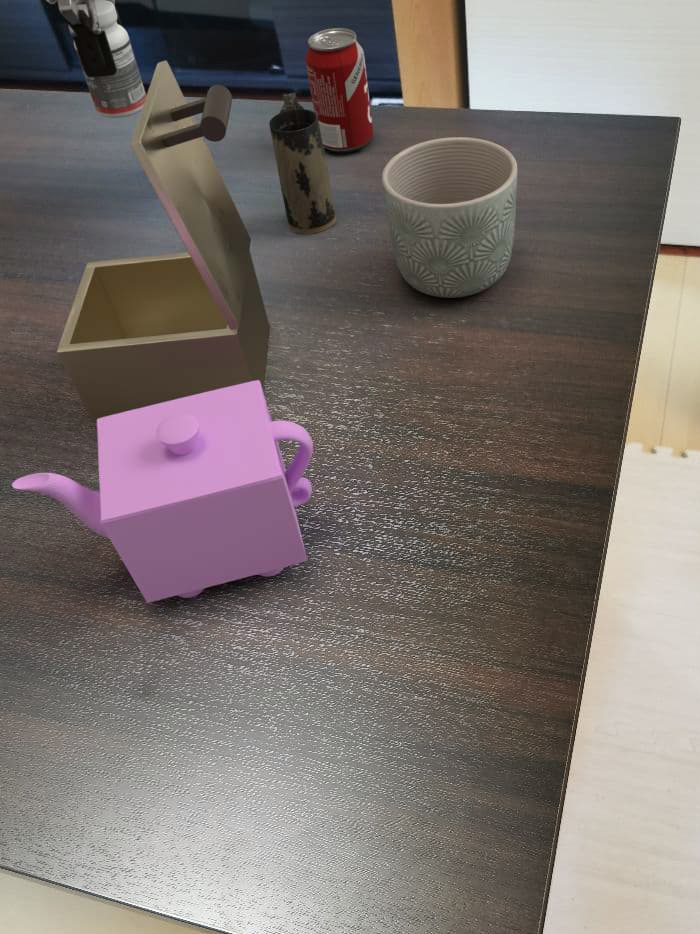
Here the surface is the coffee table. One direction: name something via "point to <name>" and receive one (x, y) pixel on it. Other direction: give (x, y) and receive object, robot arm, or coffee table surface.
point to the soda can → (339, 89)
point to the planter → (451, 214)
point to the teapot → (193, 491)
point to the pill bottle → (125, 87)
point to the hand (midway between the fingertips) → (107, 60)
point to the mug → (302, 168)
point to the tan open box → (157, 335)
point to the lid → (195, 184)
